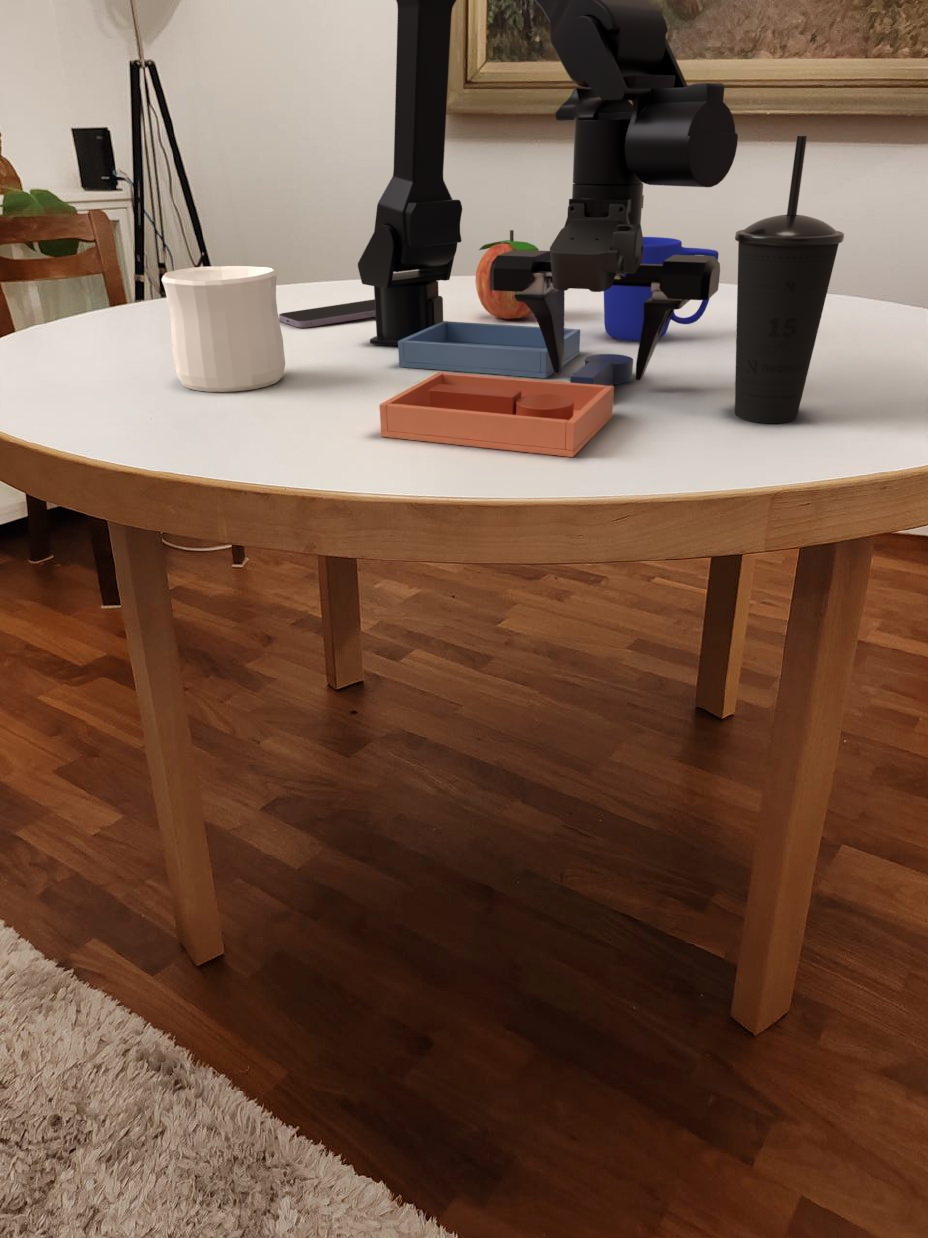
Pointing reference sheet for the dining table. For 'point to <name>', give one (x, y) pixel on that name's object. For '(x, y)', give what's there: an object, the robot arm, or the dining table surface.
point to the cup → (225, 327)
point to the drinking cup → (780, 305)
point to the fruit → (500, 301)
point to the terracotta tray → (498, 416)
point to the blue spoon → (604, 370)
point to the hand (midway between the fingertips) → (597, 376)
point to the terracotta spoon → (501, 401)
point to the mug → (645, 293)
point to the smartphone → (329, 314)
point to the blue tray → (484, 349)
